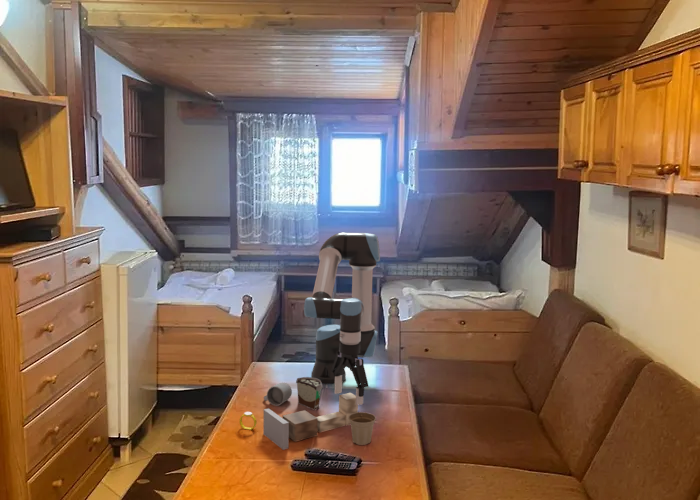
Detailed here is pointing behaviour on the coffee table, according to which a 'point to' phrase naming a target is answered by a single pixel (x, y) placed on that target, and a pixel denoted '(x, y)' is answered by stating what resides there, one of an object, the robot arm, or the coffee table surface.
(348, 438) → the coffee table surface
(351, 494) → the coffee table surface
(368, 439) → the flower pot
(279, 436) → the wall
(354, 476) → the coffee table surface
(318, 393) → the half-round slice
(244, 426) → the watch
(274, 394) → the ceramic mug
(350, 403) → the cream l-shaped piece
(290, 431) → the block
